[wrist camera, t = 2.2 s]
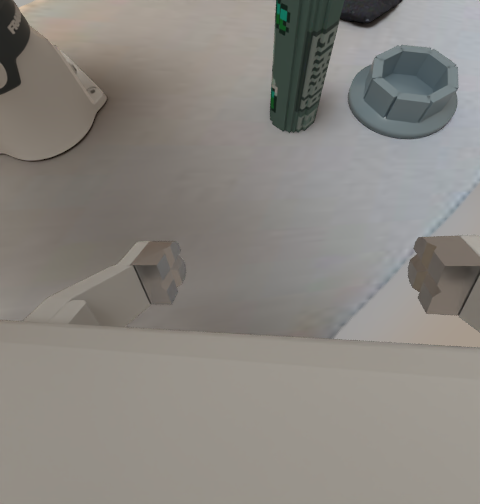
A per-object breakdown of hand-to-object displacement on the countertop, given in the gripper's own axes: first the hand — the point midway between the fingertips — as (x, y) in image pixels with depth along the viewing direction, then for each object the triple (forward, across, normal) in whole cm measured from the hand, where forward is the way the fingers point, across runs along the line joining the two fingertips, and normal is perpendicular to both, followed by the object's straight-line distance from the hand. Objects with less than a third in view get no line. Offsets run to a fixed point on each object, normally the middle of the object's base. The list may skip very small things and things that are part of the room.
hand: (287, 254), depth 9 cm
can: (+35, 0, +1) cm, 35 cm away
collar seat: (+38, -15, 0) cm, 41 cm away
